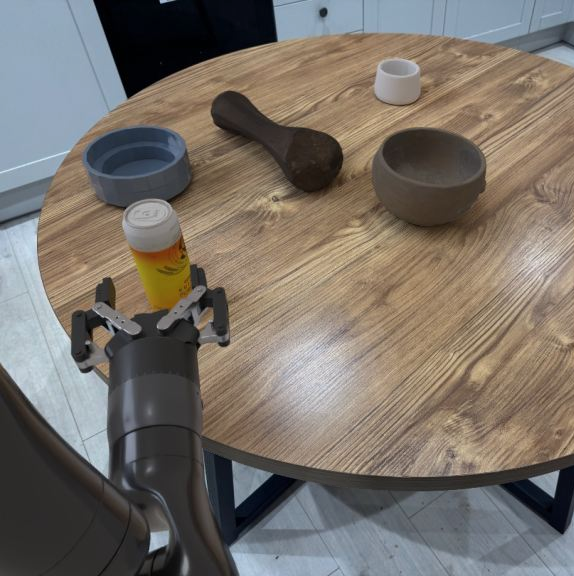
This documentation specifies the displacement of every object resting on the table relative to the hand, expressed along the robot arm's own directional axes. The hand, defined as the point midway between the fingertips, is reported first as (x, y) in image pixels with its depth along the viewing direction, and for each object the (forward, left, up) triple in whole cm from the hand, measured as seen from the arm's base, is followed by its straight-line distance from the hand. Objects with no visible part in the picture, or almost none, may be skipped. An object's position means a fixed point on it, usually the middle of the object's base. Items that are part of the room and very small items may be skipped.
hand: (152, 276), depth 60 cm
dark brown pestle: (+7, +44, -14) cm, 46 cm away
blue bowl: (-13, +36, -13) cm, 40 cm away
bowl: (+33, +31, -14) cm, 47 cm away
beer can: (-2, +9, -14) cm, 16 cm away
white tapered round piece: (+31, +70, -14) cm, 77 cm away
